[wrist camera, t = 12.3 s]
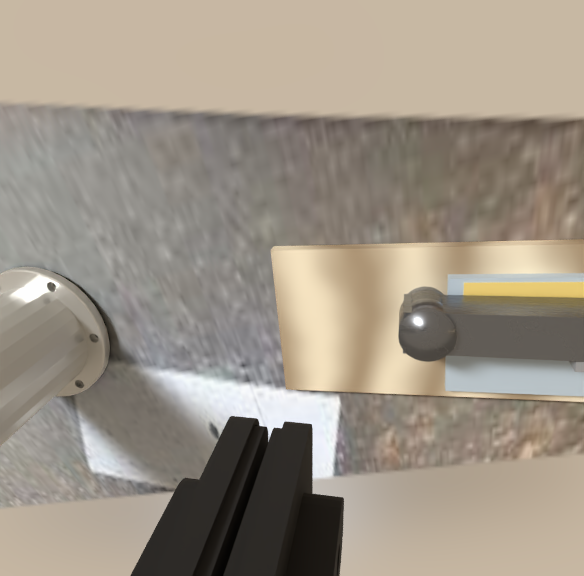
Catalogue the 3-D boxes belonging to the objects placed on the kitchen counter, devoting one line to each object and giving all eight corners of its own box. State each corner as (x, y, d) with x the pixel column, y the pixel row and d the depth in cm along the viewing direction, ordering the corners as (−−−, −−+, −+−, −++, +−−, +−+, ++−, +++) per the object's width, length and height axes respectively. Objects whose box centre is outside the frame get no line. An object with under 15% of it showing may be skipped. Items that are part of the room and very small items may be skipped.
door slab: (444, 384, 39) (448, 417, 35) (447, 274, 35) (452, 297, 32) (613, 391, 36) (636, 426, 32) (634, 272, 33) (662, 297, 29)
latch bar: (398, 336, 36) (397, 364, 33) (399, 289, 35) (398, 314, 32) (624, 344, 33) (649, 376, 30) (634, 294, 32) (662, 321, 28)
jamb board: (288, 382, 43) (286, 389, 42) (274, 246, 38) (270, 250, 37) (622, 395, 37) (627, 403, 36) (650, 237, 33) (657, 242, 32)
